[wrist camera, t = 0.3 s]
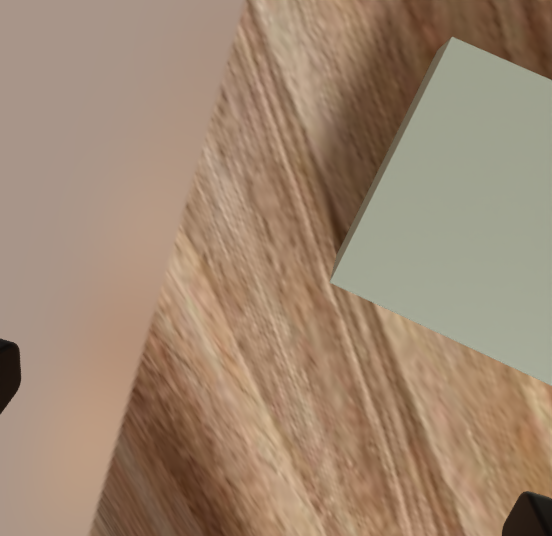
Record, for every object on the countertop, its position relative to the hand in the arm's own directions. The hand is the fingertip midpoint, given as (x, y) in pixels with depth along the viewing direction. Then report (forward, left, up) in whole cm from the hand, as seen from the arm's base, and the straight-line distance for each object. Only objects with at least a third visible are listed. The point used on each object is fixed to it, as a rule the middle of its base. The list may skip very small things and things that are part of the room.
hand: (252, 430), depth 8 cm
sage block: (+2, -6, -14) cm, 16 cm away
